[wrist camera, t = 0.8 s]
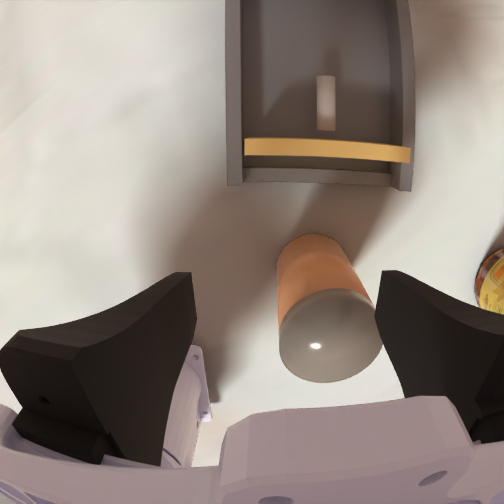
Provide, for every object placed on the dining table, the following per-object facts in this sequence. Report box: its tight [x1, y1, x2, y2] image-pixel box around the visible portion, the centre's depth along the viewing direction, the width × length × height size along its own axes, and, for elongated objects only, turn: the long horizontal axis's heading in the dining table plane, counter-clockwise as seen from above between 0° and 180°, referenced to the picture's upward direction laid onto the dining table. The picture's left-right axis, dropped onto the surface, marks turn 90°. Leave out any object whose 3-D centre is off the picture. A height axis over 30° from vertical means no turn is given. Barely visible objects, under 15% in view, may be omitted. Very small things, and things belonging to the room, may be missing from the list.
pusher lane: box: [225, 0, 415, 192], centre depth 14 cm, size 14×11×6 cm
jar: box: [276, 234, 383, 383], centre depth 18 cm, size 5×5×8 cm
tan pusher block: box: [245, 75, 411, 163], centre depth 15 cm, size 4×8×4 cm, turn 91°
